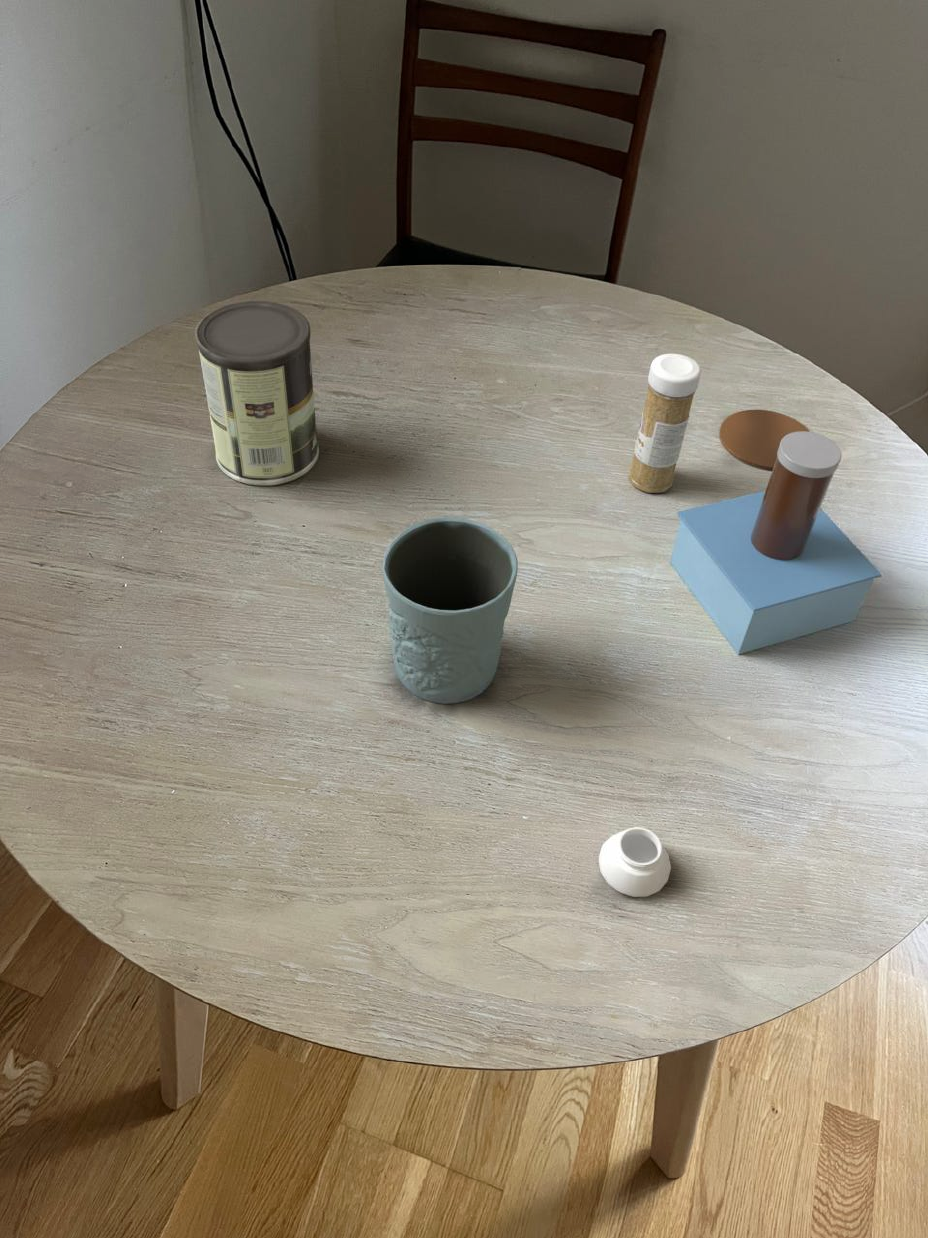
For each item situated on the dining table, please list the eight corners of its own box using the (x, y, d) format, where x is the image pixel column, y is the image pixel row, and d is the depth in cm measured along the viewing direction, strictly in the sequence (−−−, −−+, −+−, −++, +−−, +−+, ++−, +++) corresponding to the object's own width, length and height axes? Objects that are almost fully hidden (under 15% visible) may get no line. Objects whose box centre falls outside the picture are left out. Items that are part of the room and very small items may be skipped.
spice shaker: (785, 518, 92) (818, 426, 84) (816, 554, 89) (854, 461, 81) (738, 530, 90) (768, 437, 83) (769, 566, 87) (802, 473, 80)
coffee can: (288, 411, 109) (277, 288, 99) (337, 464, 103) (331, 340, 93) (197, 443, 105) (175, 318, 94) (243, 500, 99) (225, 373, 89)
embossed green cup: (490, 614, 90) (500, 510, 82) (519, 705, 84) (533, 601, 75) (375, 629, 89) (372, 524, 80) (395, 723, 82) (394, 619, 73)
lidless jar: (593, 837, 76) (603, 900, 72) (599, 815, 73) (609, 879, 70) (661, 836, 76) (674, 898, 73) (668, 814, 74) (682, 877, 70)
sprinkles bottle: (626, 465, 105) (649, 349, 96) (671, 467, 106) (699, 352, 96) (629, 494, 102) (653, 378, 93) (675, 497, 102) (704, 381, 93)
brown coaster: (780, 405, 114) (781, 402, 114) (834, 459, 108) (835, 456, 107) (701, 422, 111) (702, 419, 111) (751, 479, 105) (752, 475, 105)
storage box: (779, 531, 100) (797, 482, 95) (859, 622, 92) (882, 574, 87) (664, 560, 96) (677, 511, 92) (736, 658, 88) (754, 609, 84)
